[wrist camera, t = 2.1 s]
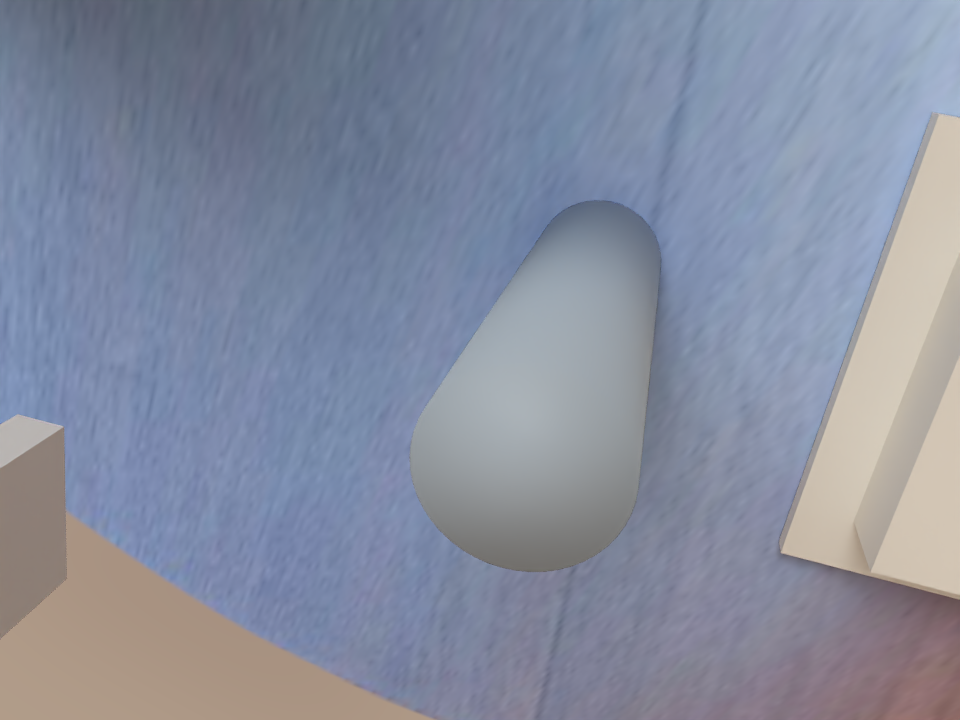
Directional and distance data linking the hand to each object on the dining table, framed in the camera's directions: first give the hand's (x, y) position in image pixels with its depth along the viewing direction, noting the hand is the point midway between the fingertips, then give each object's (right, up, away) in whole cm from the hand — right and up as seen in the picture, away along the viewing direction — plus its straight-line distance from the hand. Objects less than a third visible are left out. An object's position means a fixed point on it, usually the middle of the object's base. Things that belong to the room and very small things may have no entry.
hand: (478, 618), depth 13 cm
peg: (+4, +7, +19) cm, 21 cm away
